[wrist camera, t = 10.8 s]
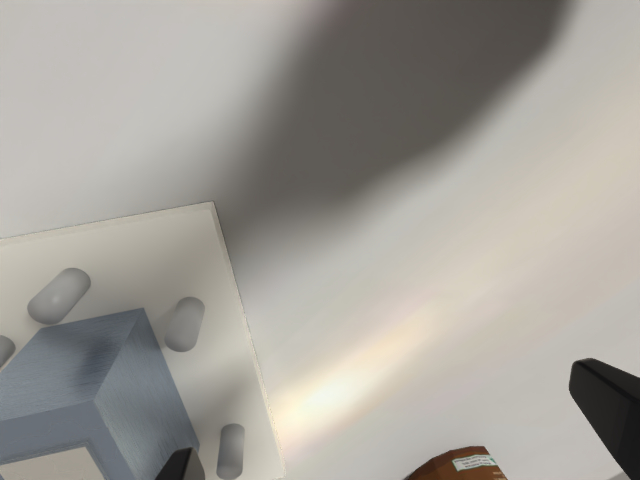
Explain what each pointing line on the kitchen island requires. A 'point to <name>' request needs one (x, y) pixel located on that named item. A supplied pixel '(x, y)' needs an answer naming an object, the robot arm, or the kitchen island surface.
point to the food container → (460, 466)
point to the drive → (91, 403)
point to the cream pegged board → (155, 318)
